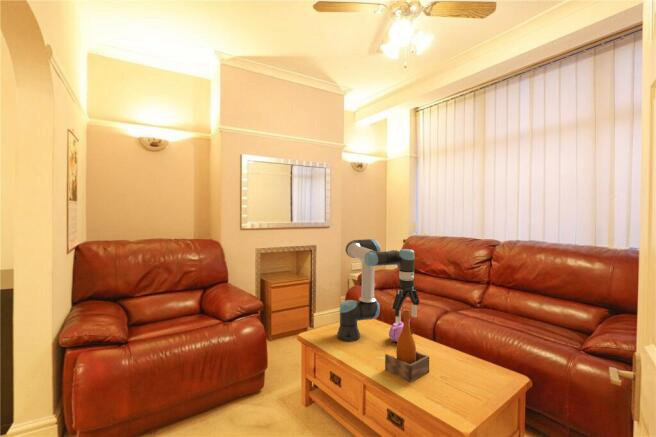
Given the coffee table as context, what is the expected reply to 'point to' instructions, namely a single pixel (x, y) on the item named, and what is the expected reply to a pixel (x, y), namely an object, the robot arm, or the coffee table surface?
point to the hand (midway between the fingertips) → (406, 319)
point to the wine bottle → (406, 342)
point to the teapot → (396, 331)
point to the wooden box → (408, 367)
